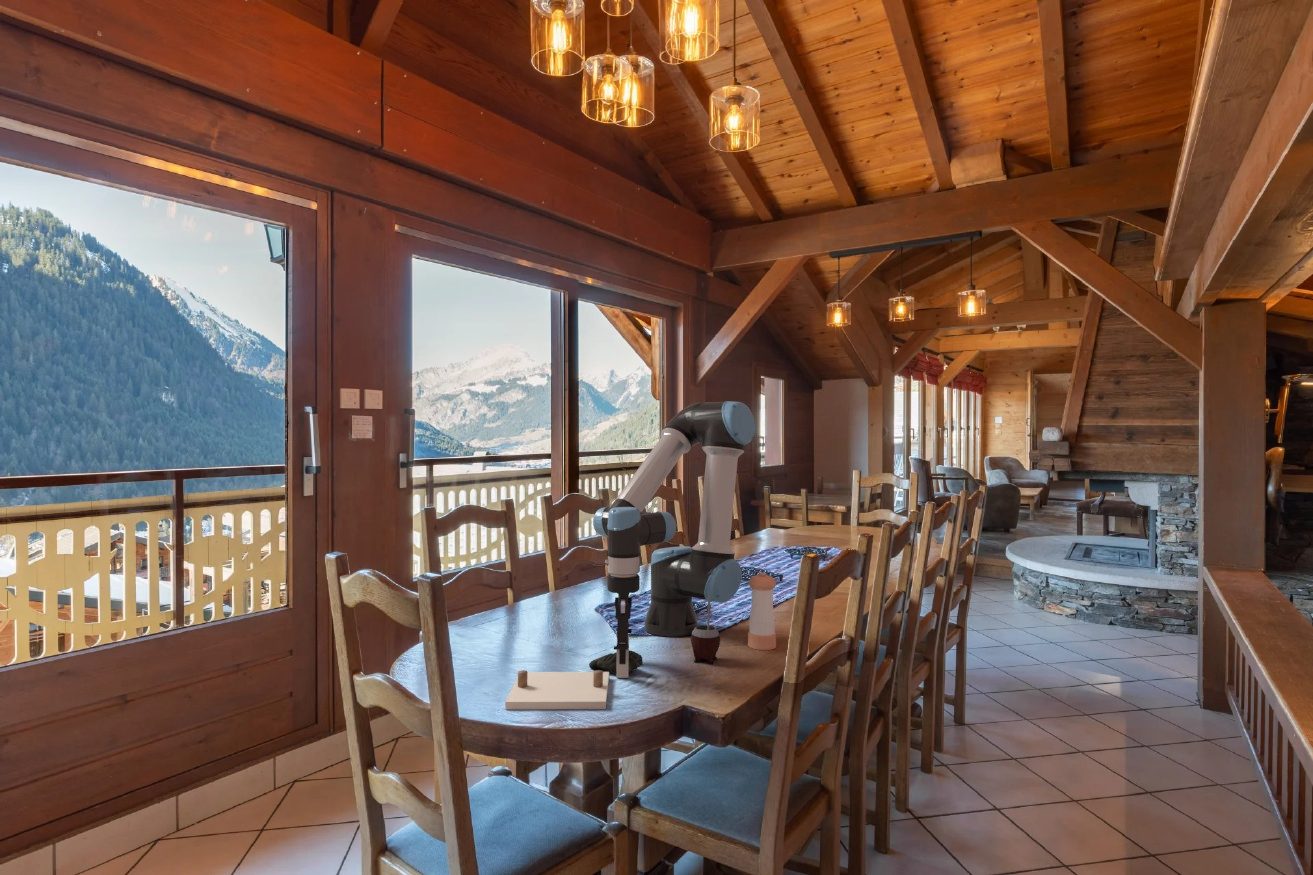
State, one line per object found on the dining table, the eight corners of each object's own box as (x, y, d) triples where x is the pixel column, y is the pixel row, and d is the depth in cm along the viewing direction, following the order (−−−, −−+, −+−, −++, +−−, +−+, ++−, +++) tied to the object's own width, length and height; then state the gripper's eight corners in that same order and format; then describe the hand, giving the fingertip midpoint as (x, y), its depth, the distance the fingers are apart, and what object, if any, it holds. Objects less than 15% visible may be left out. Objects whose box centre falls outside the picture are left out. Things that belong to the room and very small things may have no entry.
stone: (597, 663, 164) (596, 641, 164) (647, 670, 159) (647, 647, 159) (583, 672, 158) (583, 650, 158) (636, 680, 153) (636, 656, 153)
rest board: (609, 678, 154) (609, 658, 153) (605, 708, 137) (605, 686, 136) (519, 678, 153) (520, 658, 153) (505, 709, 136) (505, 686, 136)
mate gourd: (700, 667, 161) (701, 604, 161) (683, 657, 168) (684, 596, 168) (726, 662, 165) (727, 600, 165) (709, 653, 172) (710, 593, 172)
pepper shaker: (779, 643, 180) (779, 571, 180) (771, 651, 173) (772, 576, 173) (752, 640, 183) (753, 568, 183) (744, 647, 176) (744, 573, 176)
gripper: (609, 564, 170) (608, 653, 170) (605, 584, 148) (604, 686, 148) (639, 564, 170) (638, 653, 170) (639, 584, 148) (639, 686, 148)
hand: (622, 668), depth 159 cm, fingers open, 10 cm apart
